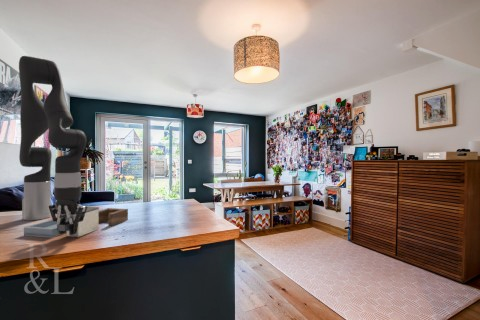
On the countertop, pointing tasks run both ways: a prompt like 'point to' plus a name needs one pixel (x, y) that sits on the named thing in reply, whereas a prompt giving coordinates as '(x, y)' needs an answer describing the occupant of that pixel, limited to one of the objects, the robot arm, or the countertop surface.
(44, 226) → the tray
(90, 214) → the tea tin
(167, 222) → the countertop surface
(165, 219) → the countertop surface
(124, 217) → the cubby
